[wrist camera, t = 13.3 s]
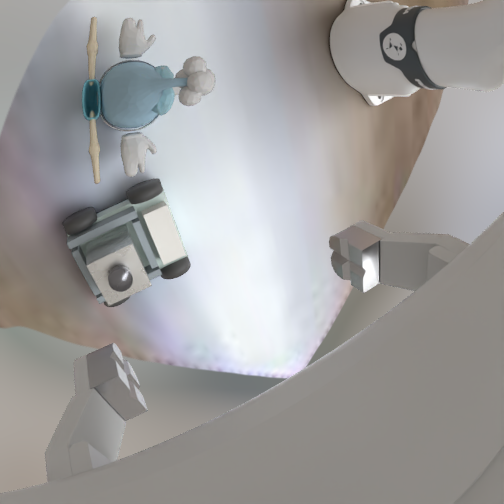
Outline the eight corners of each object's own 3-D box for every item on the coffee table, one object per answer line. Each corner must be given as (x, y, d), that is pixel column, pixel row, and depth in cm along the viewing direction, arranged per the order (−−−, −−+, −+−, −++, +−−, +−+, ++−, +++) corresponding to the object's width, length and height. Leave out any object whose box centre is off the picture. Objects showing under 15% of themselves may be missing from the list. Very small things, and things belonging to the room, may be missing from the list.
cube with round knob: (125, 224, 34) (133, 247, 28) (142, 261, 36) (153, 290, 31) (86, 243, 32) (86, 270, 27) (105, 279, 35) (109, 311, 29)
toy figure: (177, 163, 36) (225, 189, 24) (89, 176, 32) (85, 210, 20) (176, 28, 29) (226, -19, 17) (85, 33, 25) (82, -19, 13)
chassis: (156, 176, 36) (163, 183, 32) (185, 256, 41) (195, 271, 38) (63, 218, 32) (60, 230, 29) (103, 294, 38) (105, 313, 34)
